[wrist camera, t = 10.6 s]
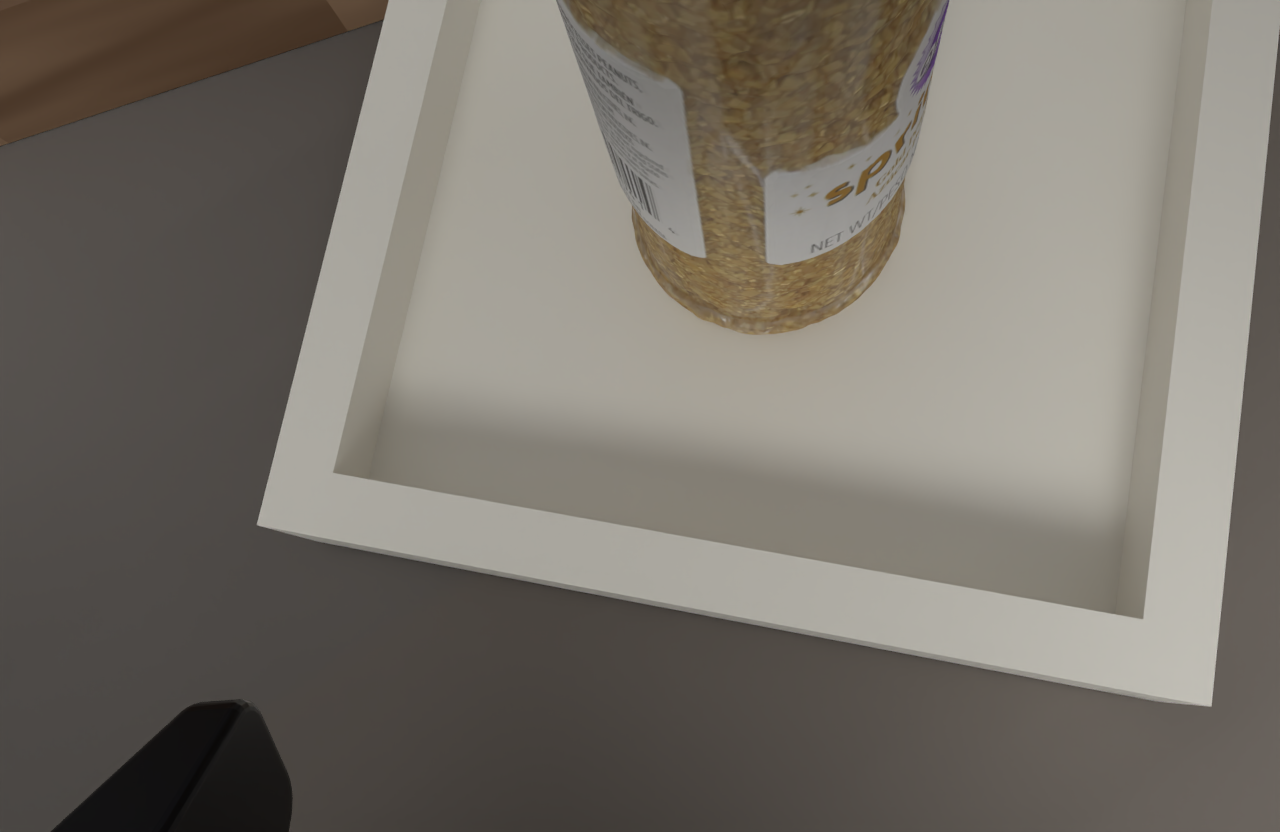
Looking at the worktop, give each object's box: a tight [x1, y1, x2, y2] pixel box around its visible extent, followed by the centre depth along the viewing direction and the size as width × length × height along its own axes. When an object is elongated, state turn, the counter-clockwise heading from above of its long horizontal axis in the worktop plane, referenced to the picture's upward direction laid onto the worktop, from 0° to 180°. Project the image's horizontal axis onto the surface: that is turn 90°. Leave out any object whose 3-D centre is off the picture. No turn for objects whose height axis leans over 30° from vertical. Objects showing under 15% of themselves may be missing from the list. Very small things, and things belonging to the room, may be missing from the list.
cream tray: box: [257, 0, 1280, 707], centre depth 20 cm, size 14×14×2 cm
